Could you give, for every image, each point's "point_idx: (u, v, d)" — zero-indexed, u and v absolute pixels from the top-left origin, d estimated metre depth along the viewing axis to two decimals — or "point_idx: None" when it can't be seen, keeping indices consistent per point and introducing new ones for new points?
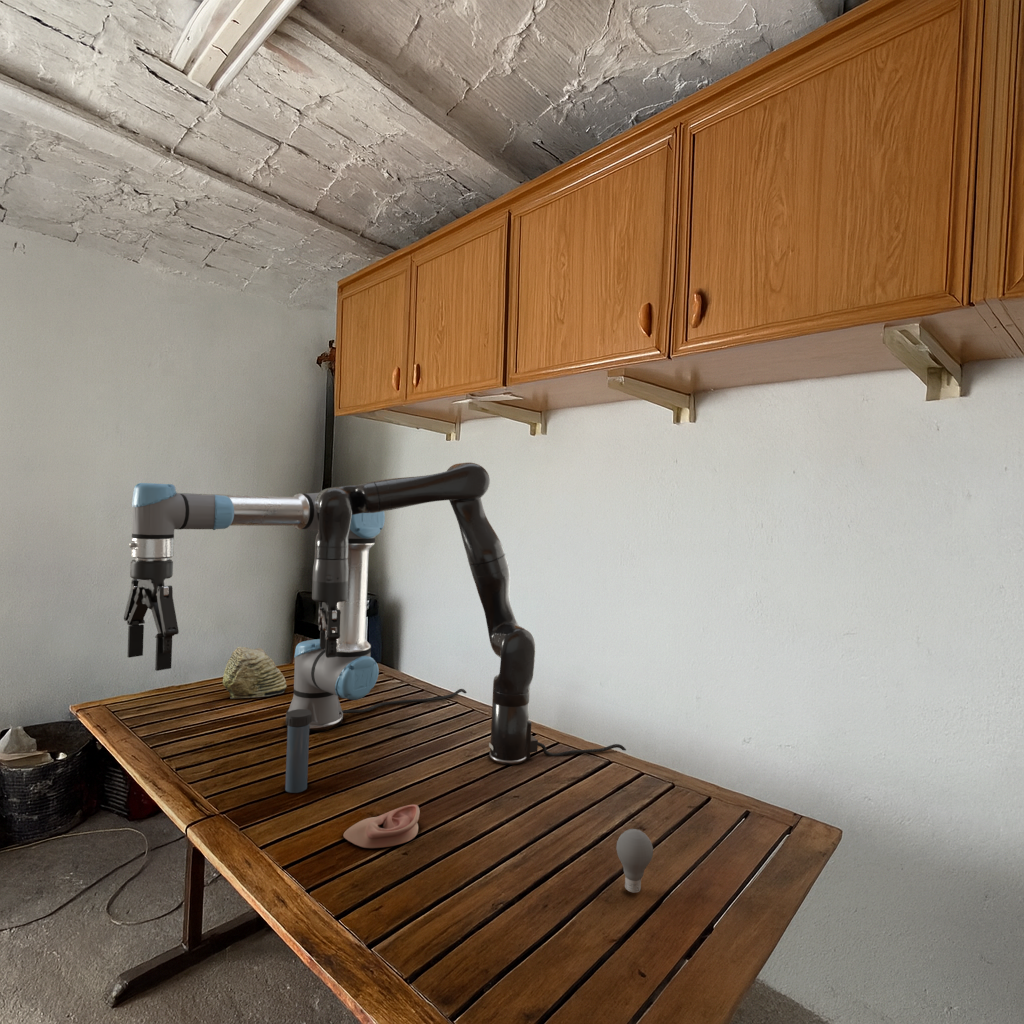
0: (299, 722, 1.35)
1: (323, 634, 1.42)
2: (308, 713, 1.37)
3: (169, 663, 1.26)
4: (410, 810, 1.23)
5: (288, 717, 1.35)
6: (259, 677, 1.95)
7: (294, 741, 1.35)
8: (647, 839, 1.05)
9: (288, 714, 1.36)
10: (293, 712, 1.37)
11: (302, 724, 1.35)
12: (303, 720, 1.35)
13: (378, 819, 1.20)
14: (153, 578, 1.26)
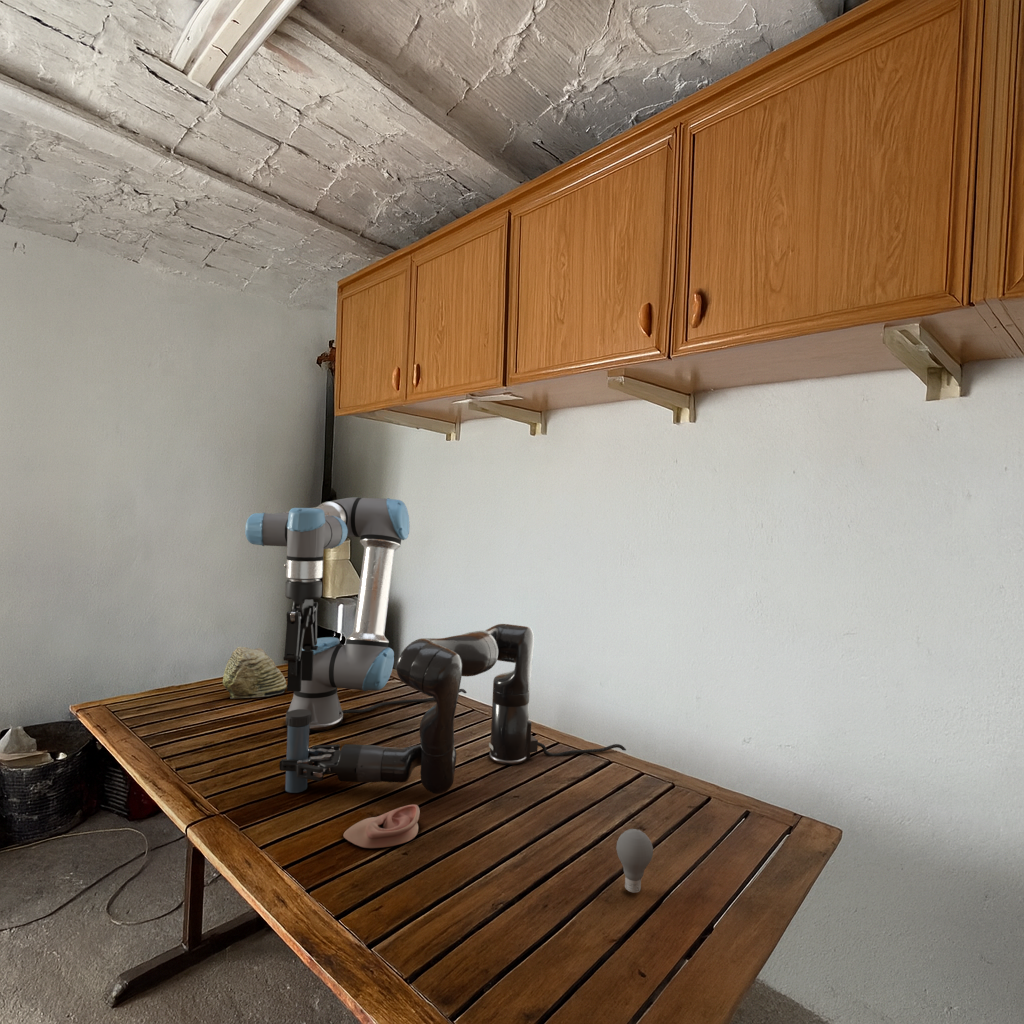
0: (299, 722, 1.35)
1: None
2: (308, 713, 1.37)
3: (298, 686, 1.32)
4: (410, 810, 1.23)
5: (288, 717, 1.35)
6: (259, 677, 1.95)
7: (294, 741, 1.35)
8: (647, 839, 1.05)
9: (288, 714, 1.36)
10: (293, 712, 1.37)
11: (302, 724, 1.35)
12: (303, 720, 1.35)
13: (378, 819, 1.20)
14: (292, 598, 1.33)
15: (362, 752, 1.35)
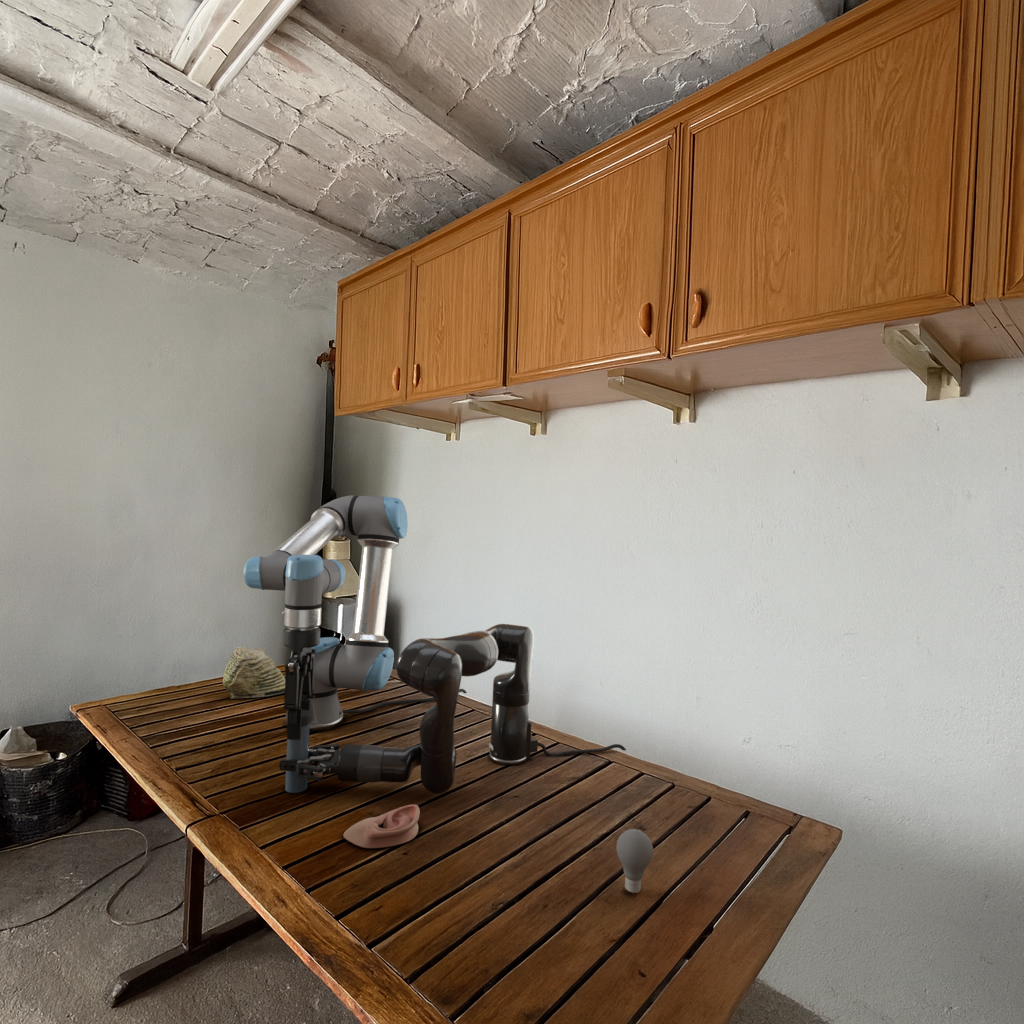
0: None
1: None
2: (308, 713, 1.37)
3: (298, 734, 1.34)
4: (410, 810, 1.23)
5: None
6: (259, 677, 1.95)
7: (294, 741, 1.35)
8: (647, 839, 1.05)
9: None
10: None
11: (302, 724, 1.35)
12: (303, 720, 1.35)
13: (378, 819, 1.20)
14: (291, 646, 1.33)
15: (362, 752, 1.35)
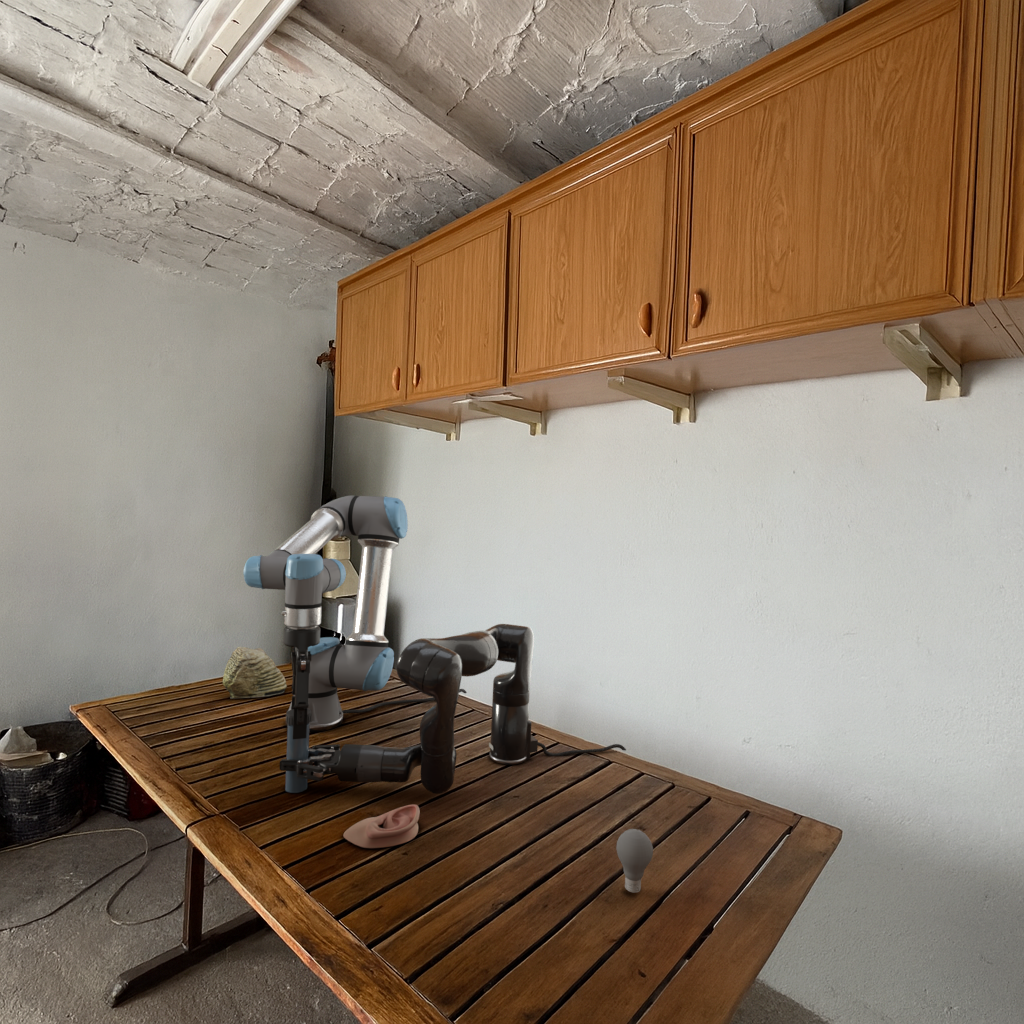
0: (309, 718, 1.37)
1: None
2: None
3: (304, 733, 1.33)
4: (410, 810, 1.23)
5: None
6: (259, 677, 1.95)
7: (294, 741, 1.35)
8: (647, 839, 1.05)
9: None
10: (293, 713, 1.36)
11: (310, 719, 1.37)
12: (311, 715, 1.38)
13: (378, 819, 1.20)
14: (297, 646, 1.33)
15: (362, 752, 1.35)
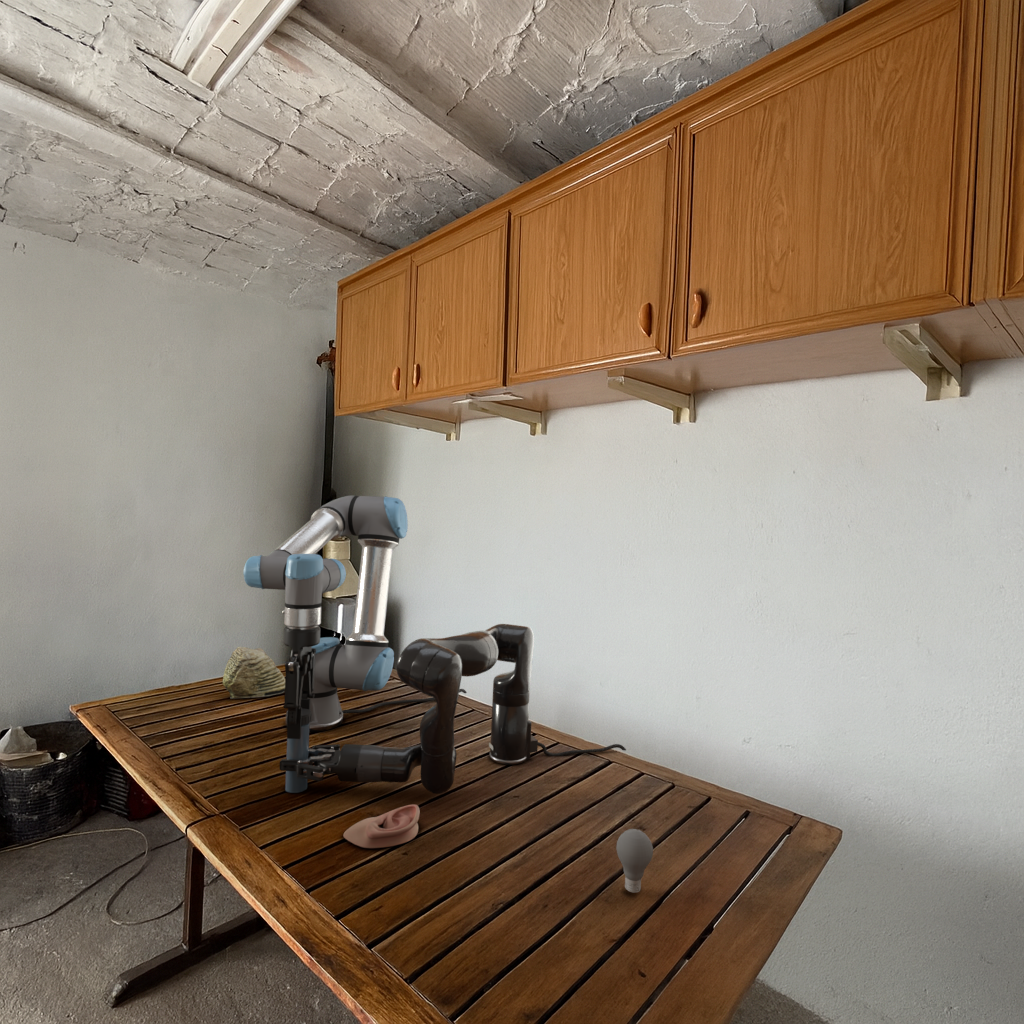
0: (309, 718, 1.37)
1: None
2: (306, 709, 1.39)
3: (298, 734, 1.34)
4: (410, 810, 1.23)
5: None
6: (259, 677, 1.95)
7: (294, 741, 1.35)
8: (647, 839, 1.05)
9: None
10: None
11: (310, 719, 1.37)
12: (311, 715, 1.38)
13: (378, 819, 1.20)
14: (291, 645, 1.33)
15: (362, 752, 1.35)
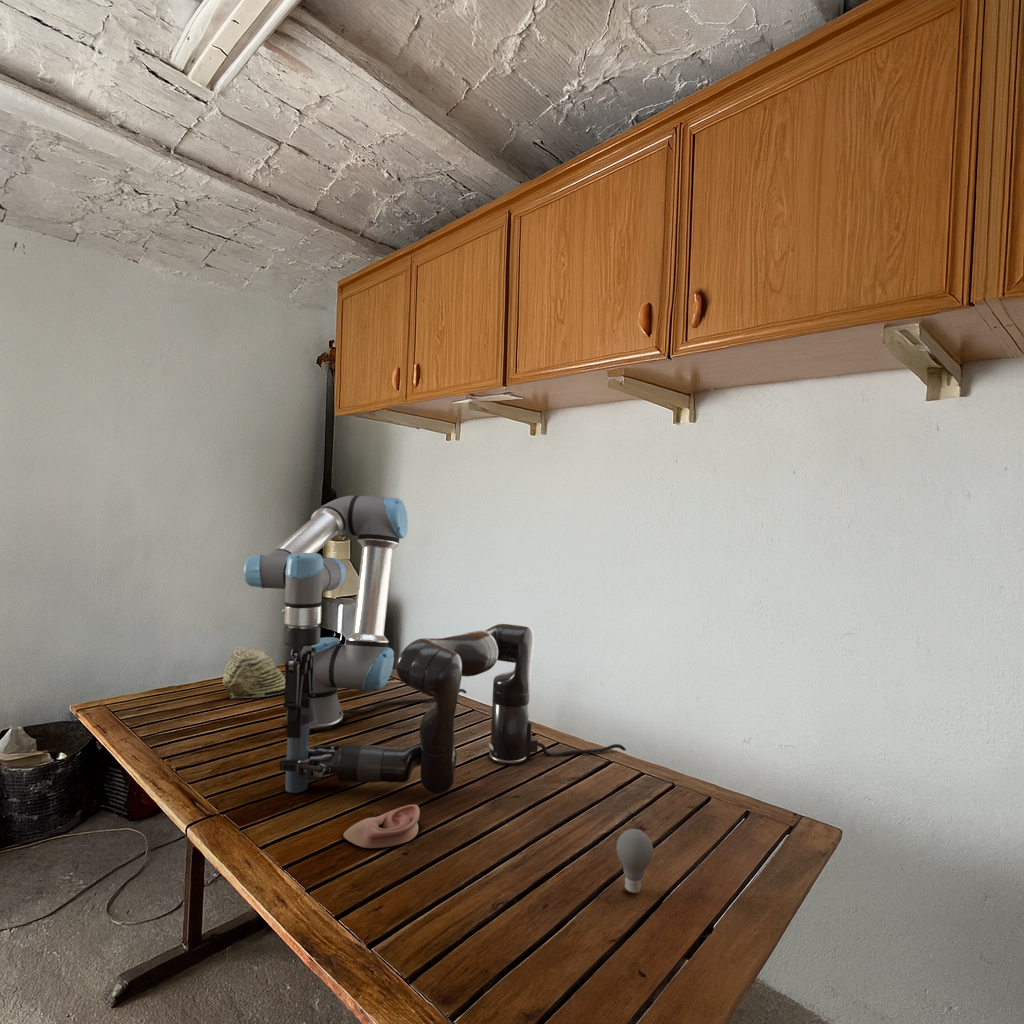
0: None
1: None
2: None
3: (298, 733, 1.34)
4: (410, 810, 1.23)
5: (310, 713, 1.37)
6: (259, 677, 1.95)
7: (294, 741, 1.35)
8: (647, 839, 1.05)
9: (307, 713, 1.36)
10: None
11: None
12: None
13: (378, 819, 1.20)
14: (291, 645, 1.33)
15: (362, 752, 1.35)
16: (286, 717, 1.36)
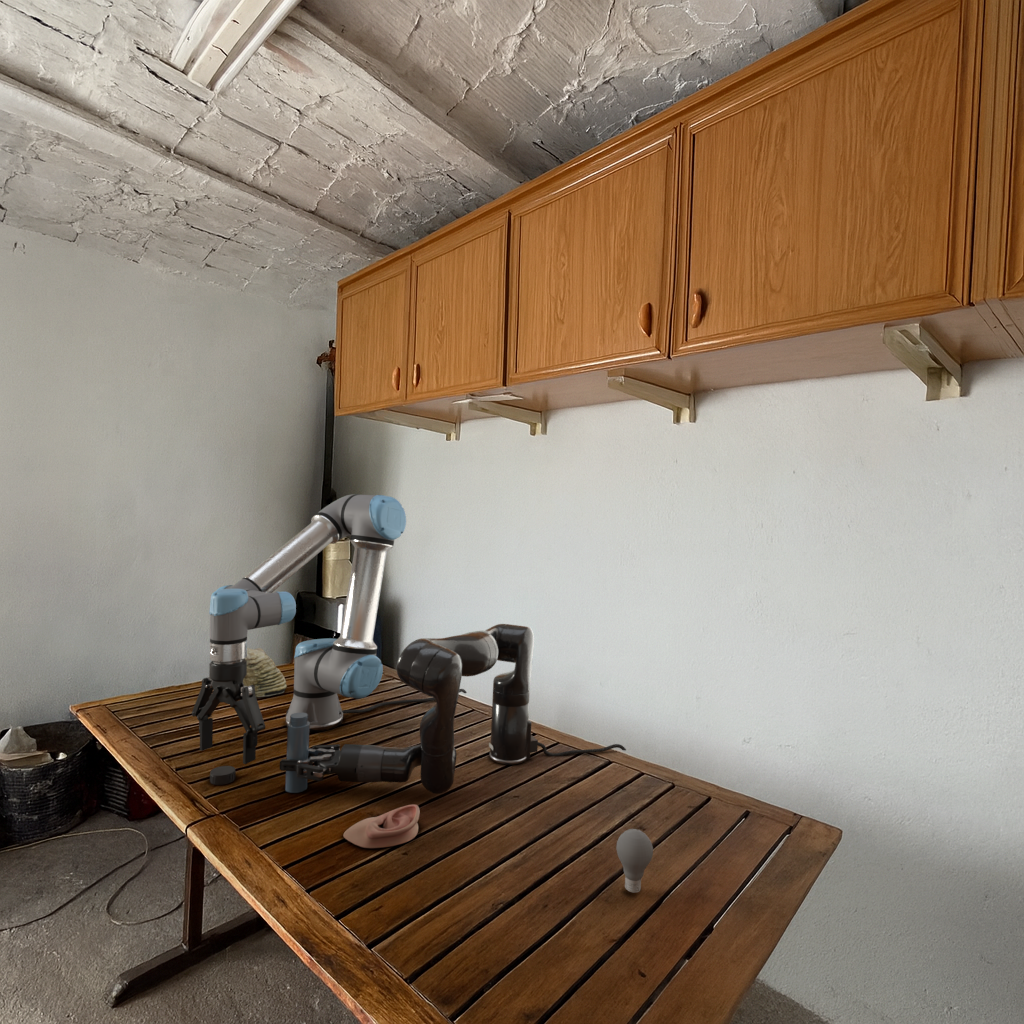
0: None
1: None
2: (213, 770, 1.39)
3: (254, 755, 1.38)
4: (410, 810, 1.23)
5: None
6: (259, 677, 1.95)
7: (294, 741, 1.35)
8: (647, 839, 1.05)
9: (233, 768, 1.41)
10: (228, 770, 1.39)
11: None
12: None
13: (378, 819, 1.20)
14: (235, 679, 1.37)
15: (362, 752, 1.35)
16: (215, 780, 1.37)
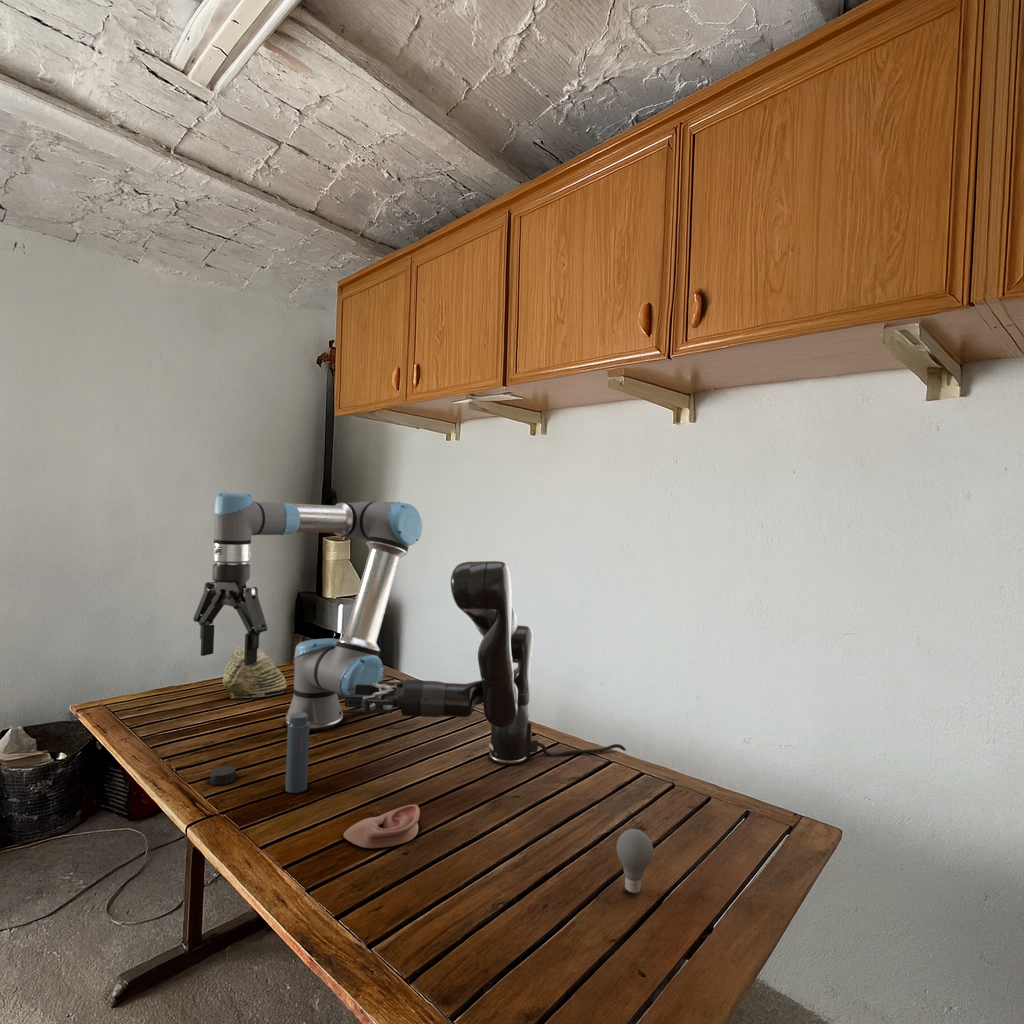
0: None
1: None
2: (213, 770, 1.39)
3: (255, 658, 1.37)
4: (410, 810, 1.23)
5: None
6: (259, 677, 1.95)
7: (294, 741, 1.35)
8: (647, 839, 1.05)
9: (233, 768, 1.41)
10: (228, 770, 1.39)
11: None
12: None
13: (378, 819, 1.20)
14: (238, 580, 1.36)
15: (425, 686, 1.35)
16: (215, 780, 1.37)
